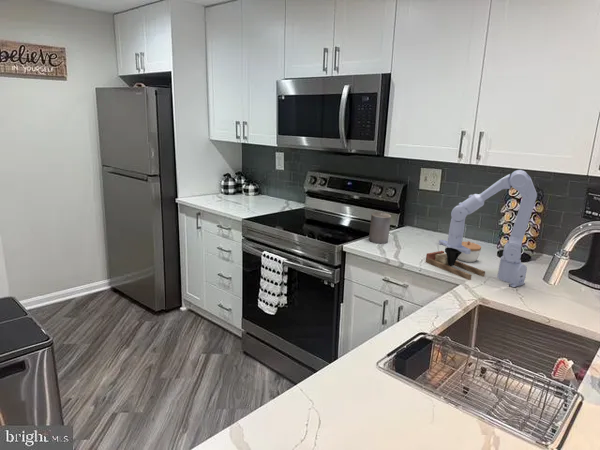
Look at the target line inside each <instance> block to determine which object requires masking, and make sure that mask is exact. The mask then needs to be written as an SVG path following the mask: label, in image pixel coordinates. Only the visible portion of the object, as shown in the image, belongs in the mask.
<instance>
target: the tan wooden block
mask: <svg viewBox="0 0 600 450" xmlns="http://www.w3.org/2000/svg"><path fill="white" fill-rule="evenodd" d="M435 256H436V257H435V261H438V262H440V263H443V264H445V265H448V258H447V254H446V252H444V253H442V254H436V255H435ZM448 266H449V265H448Z"/></svg>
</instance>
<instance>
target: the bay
mask: <svg viewBox="0 0 600 450" xmlns="http://www.w3.org/2000/svg"><path fill="white" fill-rule="evenodd" d="M442 253H445V250H439V251H434V252H429V253H426V258H425V263H426V264H429V265H431V266H434V267H435V268H439V269H441V270H444V271H446V272H448V273H451V274H452V275H453V274H454V275H455V276H458V277H460V278H463V279H466V280H468V281H470V280H472V274H470V273H473V274H476V275H478V276H480V277H485V276H486V271H485V270H482V269H480V268H477V267H475V266H472V265H470V264H466V263H465V262H463V261H462V262H461V261H460V260H456V262H455V264H454V266H448V265H445V264H443V263H440V262H438V261H435V257H436V256H435V255H436V254H442ZM455 267H457V268H455ZM458 268H460V269H458ZM461 269H463V270H465V271H467V272H465V271H463V270H461ZM468 272H470V273H468Z"/></svg>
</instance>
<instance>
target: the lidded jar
mask: <svg viewBox="0 0 600 450" xmlns="http://www.w3.org/2000/svg"><path fill="white" fill-rule="evenodd" d="M462 245H463V246H464V247H466V248H468V249H471V251H470V254H465V253H463V252H462V253H461V254H460V255H459V256H458V258H457V260H458V261H460V262H461V261H462V262H464V263H465V262H467V263H475V262H476V261H477V260H478V259H479V257H480V254H481V250H482V246H481V245H479V244H478V243H474V242H471V241H468V240H467V241H462Z"/></svg>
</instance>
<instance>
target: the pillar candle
mask: <svg viewBox="0 0 600 450" xmlns="http://www.w3.org/2000/svg"><path fill="white" fill-rule="evenodd" d="M391 218H392V215H391V214H389V213H385V212H372V213H371V216H370V223H369V224H370V225H369V226H370V227H369V234H368V235H369V236H368V241H369V242H371V243H373V244H378V245H380V244H381V245H382V244H383V245H384V244H386V243H388V242H389V236H390V235H389V234H390V227H391Z"/></svg>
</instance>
